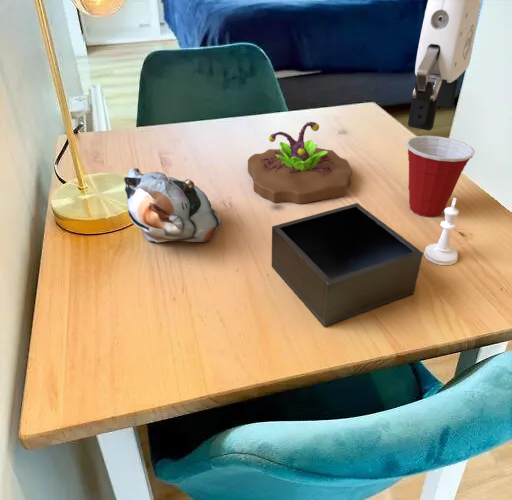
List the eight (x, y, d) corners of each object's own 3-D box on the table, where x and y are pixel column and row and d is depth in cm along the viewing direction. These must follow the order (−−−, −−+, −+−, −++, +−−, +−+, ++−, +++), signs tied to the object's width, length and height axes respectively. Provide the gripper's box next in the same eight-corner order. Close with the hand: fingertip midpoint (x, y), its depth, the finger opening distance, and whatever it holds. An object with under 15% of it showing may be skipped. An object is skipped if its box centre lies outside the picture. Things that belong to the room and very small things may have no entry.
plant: (364, 199, 92) (372, 141, 85) (257, 207, 89) (257, 148, 83) (335, 153, 108) (340, 102, 101) (244, 159, 106) (243, 107, 99)
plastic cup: (468, 205, 90) (486, 142, 83) (444, 231, 83) (460, 164, 76) (411, 187, 95) (423, 126, 88) (384, 210, 88) (394, 146, 82)
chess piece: (421, 260, 76) (434, 202, 71) (426, 243, 80) (439, 187, 74) (455, 268, 75) (471, 210, 69) (459, 251, 78) (475, 194, 72)
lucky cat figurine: (235, 235, 82) (213, 187, 70) (174, 278, 81) (140, 237, 68) (189, 178, 89) (161, 126, 77) (132, 217, 88) (95, 170, 75)
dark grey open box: (414, 294, 70) (423, 252, 66) (324, 327, 65) (328, 284, 61) (352, 241, 81) (357, 202, 77) (271, 266, 75) (271, 226, 71)
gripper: (473, -11, 53) (440, 143, 63) (505, -29, 65) (473, 103, 75) (402, -16, 56) (382, 131, 66) (445, -32, 68) (423, 95, 78)
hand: (430, 116), depth 70 cm, fingers open, 9 cm apart
